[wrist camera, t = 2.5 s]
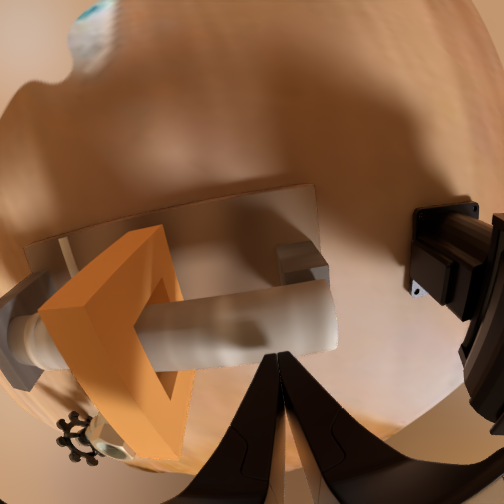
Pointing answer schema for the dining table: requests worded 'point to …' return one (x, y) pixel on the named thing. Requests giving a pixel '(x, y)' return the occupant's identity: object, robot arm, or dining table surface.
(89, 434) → the valve
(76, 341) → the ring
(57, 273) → the pipe stand
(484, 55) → the dining table surface
